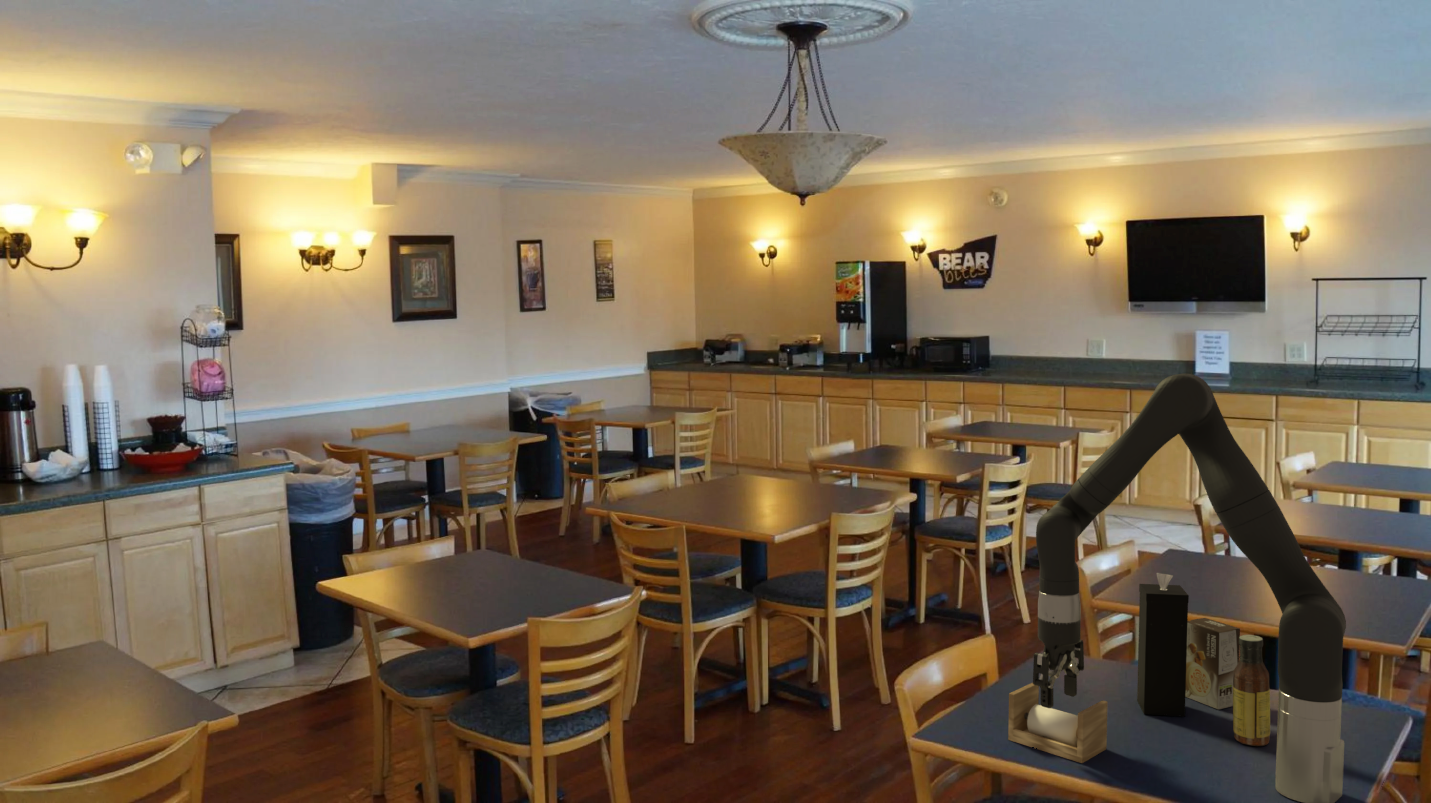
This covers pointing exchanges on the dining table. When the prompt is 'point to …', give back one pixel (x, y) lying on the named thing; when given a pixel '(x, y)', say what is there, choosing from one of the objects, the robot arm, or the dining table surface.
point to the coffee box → (1211, 662)
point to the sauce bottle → (1251, 694)
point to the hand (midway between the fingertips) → (1058, 700)
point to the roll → (1053, 724)
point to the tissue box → (1162, 647)
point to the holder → (1088, 740)
